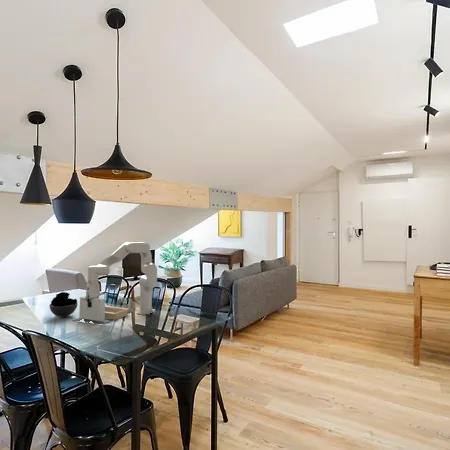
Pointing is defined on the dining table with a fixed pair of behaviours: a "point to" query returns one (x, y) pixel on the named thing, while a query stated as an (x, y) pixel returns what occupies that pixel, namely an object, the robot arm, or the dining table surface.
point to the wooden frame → (115, 312)
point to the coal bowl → (63, 305)
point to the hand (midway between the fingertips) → (92, 306)
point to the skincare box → (92, 309)
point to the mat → (93, 321)
